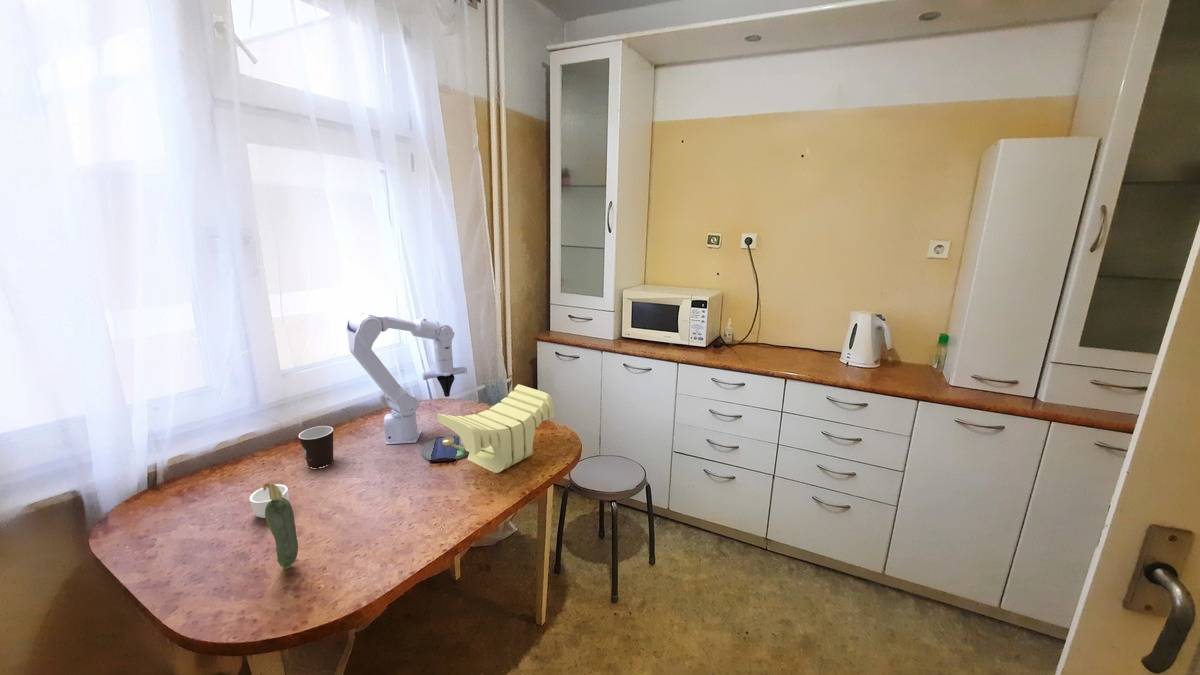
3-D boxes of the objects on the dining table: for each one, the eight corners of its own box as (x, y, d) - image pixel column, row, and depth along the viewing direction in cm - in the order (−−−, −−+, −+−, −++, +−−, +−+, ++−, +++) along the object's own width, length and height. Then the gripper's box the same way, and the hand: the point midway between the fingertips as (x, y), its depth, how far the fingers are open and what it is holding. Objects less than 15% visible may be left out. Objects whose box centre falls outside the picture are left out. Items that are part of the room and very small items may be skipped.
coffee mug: (335, 468, 132) (330, 436, 130) (300, 473, 129) (295, 441, 126) (341, 450, 142) (336, 420, 140) (309, 454, 139) (304, 424, 137)
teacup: (294, 513, 112) (291, 493, 110) (256, 527, 106) (251, 506, 105) (285, 496, 118) (282, 477, 117) (249, 508, 113) (245, 489, 112)
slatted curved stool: (477, 490, 122) (473, 428, 117) (442, 470, 131) (437, 413, 127) (554, 447, 145) (553, 395, 140) (520, 433, 154) (518, 384, 150)
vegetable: (306, 561, 96) (291, 475, 91) (294, 576, 91) (277, 488, 87) (285, 561, 96) (269, 476, 91) (271, 577, 91) (253, 488, 86)
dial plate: (416, 464, 134) (415, 460, 134) (427, 439, 150) (427, 436, 149) (472, 460, 137) (471, 456, 136) (477, 436, 152) (477, 433, 152)
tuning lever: (439, 446, 142) (438, 431, 141) (448, 441, 145) (447, 427, 144) (463, 453, 138) (462, 438, 136) (472, 448, 141) (471, 433, 139)
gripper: (423, 364, 149) (427, 403, 152) (468, 358, 156) (470, 395, 160) (419, 359, 155) (423, 396, 158) (462, 353, 162) (465, 389, 166)
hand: (446, 395), depth 159 cm, fingers closed
